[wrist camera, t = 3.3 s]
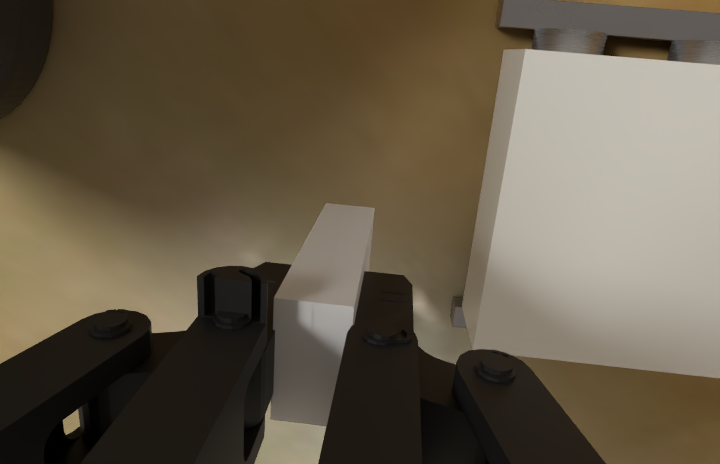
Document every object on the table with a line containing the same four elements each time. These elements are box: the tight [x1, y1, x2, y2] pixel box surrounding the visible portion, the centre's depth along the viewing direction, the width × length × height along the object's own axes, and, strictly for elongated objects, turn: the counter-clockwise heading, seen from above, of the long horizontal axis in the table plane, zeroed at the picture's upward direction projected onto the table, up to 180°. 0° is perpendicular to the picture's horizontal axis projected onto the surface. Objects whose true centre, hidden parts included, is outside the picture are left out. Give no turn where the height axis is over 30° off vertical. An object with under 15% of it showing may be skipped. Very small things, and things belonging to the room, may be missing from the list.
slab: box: [462, 49, 720, 378], centre depth 21 cm, size 18×12×4 cm, turn 86°
